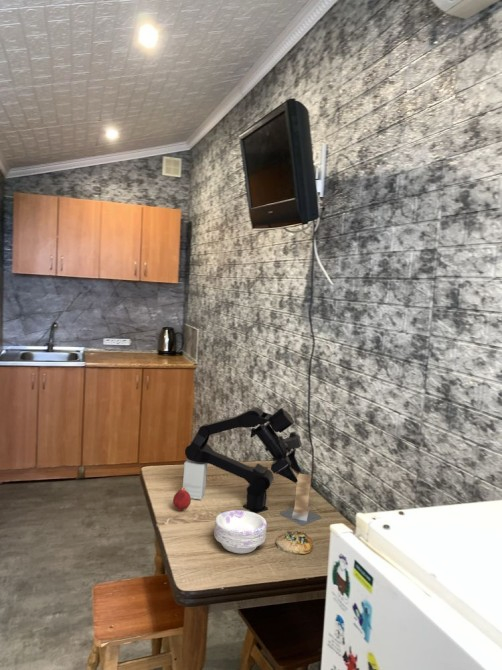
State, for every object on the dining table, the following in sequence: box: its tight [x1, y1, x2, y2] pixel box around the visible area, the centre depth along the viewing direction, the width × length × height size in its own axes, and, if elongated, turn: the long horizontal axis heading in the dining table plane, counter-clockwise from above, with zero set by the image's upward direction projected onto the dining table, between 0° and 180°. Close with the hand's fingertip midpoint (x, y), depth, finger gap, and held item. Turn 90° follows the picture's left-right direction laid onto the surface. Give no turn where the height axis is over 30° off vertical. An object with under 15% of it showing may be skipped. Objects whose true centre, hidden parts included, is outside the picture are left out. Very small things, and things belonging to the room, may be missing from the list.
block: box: [292, 472, 312, 521], centre depth 170 cm, size 5×9×13 cm, turn 168°
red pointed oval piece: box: [172, 486, 192, 512], centre depth 166 cm, size 6×6×8 cm
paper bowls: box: [213, 509, 268, 554], centre depth 147 cm, size 15×15×8 cm
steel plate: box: [279, 506, 322, 527], centre depth 170 cm, size 10×10×1 cm
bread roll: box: [275, 530, 314, 555], centre depth 149 cm, size 11×11×5 cm
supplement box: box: [182, 459, 208, 500], centre depth 179 cm, size 7×7×13 cm
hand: (298, 476), depth 170 cm, fingers open, 9 cm apart
